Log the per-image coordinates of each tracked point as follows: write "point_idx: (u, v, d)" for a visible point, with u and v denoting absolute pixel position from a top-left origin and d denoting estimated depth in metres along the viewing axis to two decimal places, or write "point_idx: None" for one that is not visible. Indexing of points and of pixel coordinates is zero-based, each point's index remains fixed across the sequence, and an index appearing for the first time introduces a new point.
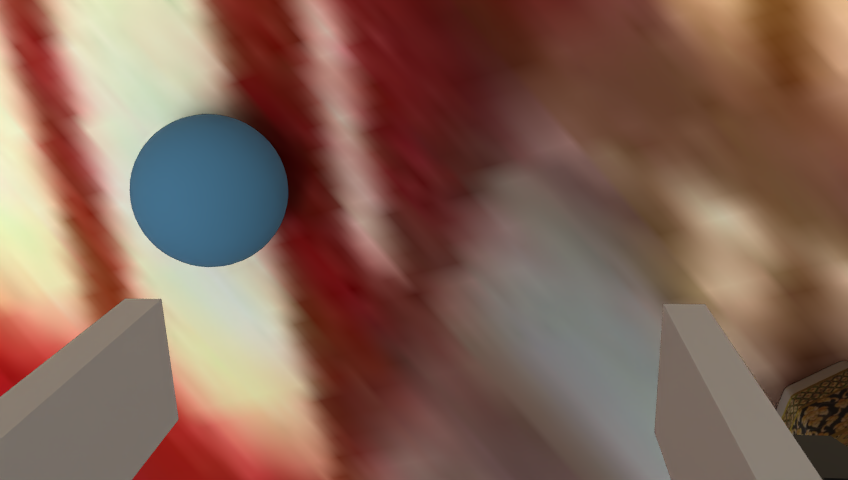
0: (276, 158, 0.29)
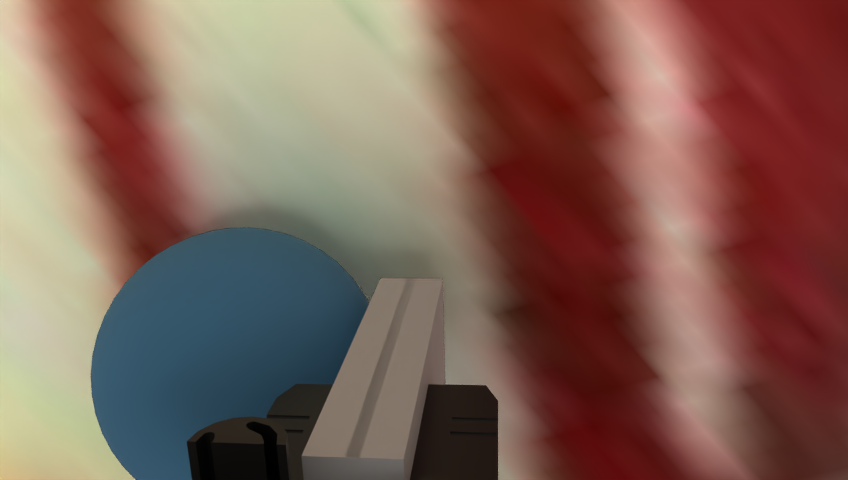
0: (284, 341, 0.14)
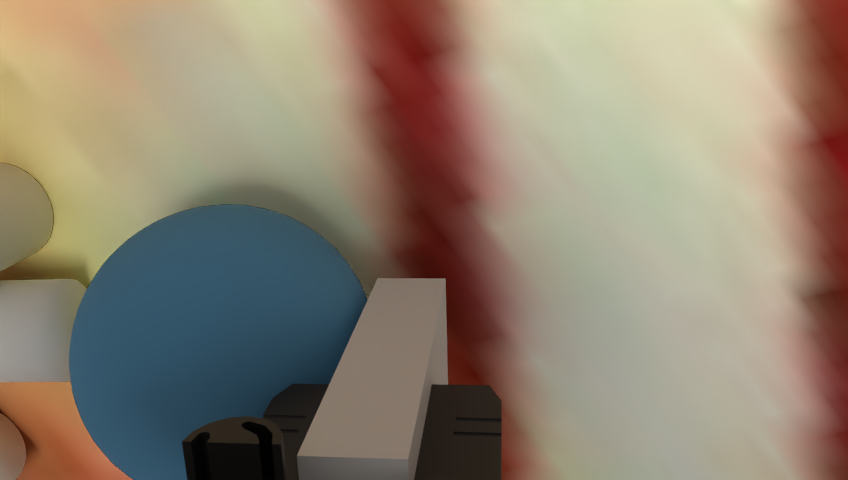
0: (177, 332, 0.13)
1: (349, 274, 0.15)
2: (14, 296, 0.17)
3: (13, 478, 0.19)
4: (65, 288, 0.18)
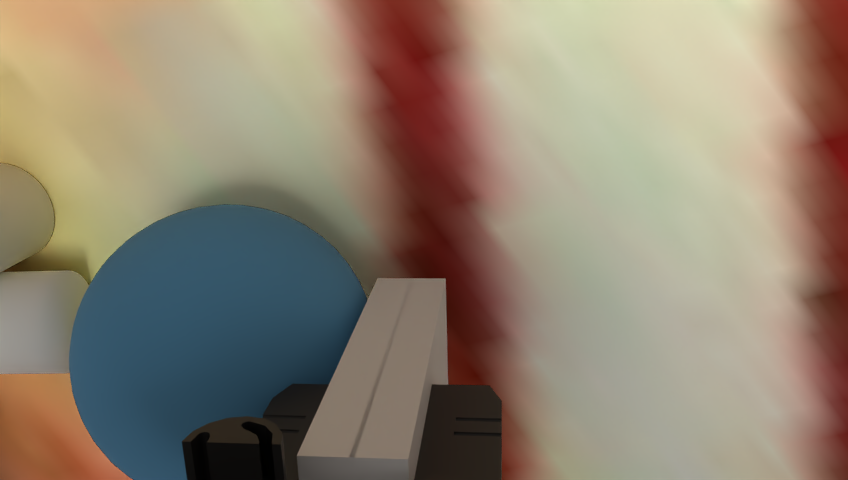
0: (177, 332, 0.13)
1: (349, 274, 0.15)
2: (18, 281, 0.17)
3: None
4: (69, 279, 0.18)
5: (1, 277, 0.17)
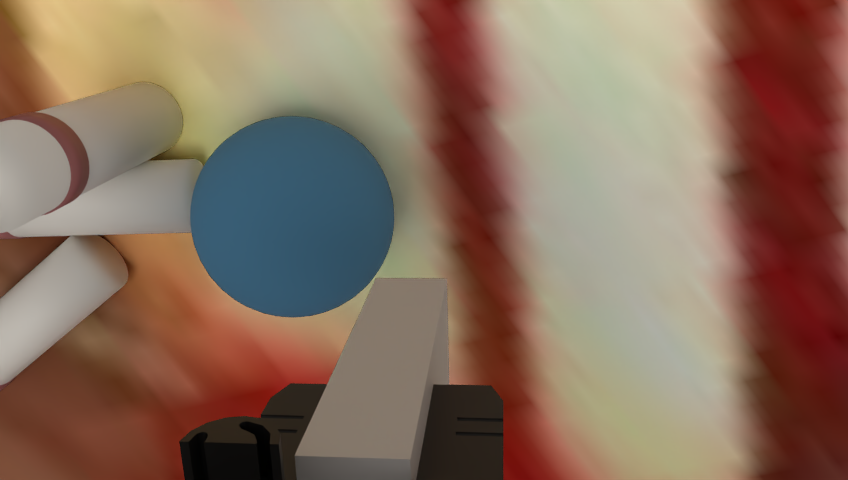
0: (243, 202, 0.20)
1: (369, 171, 0.21)
2: (163, 164, 0.24)
3: (89, 279, 0.25)
4: (196, 165, 0.25)
5: (150, 162, 0.24)
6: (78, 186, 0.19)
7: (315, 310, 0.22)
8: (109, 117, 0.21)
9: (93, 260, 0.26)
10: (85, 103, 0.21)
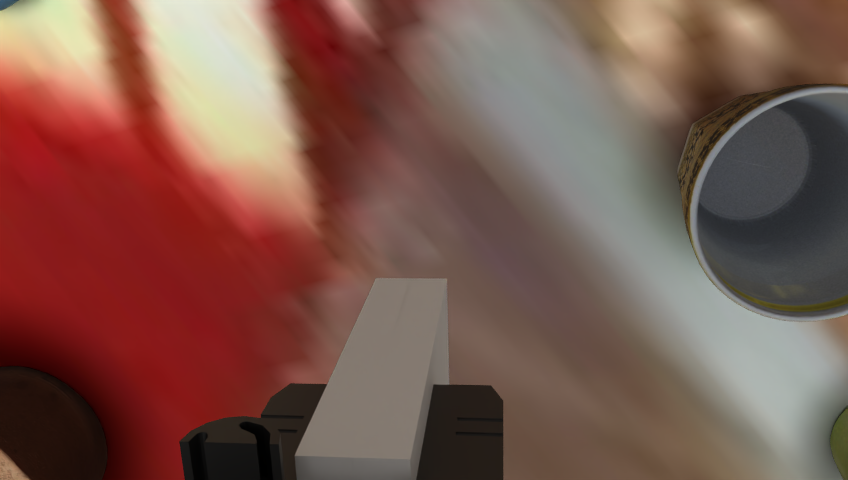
0: None
1: None
2: None
3: None
4: None
5: None
6: None
7: None
8: None
9: None
10: None
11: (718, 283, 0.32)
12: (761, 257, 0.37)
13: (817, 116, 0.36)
